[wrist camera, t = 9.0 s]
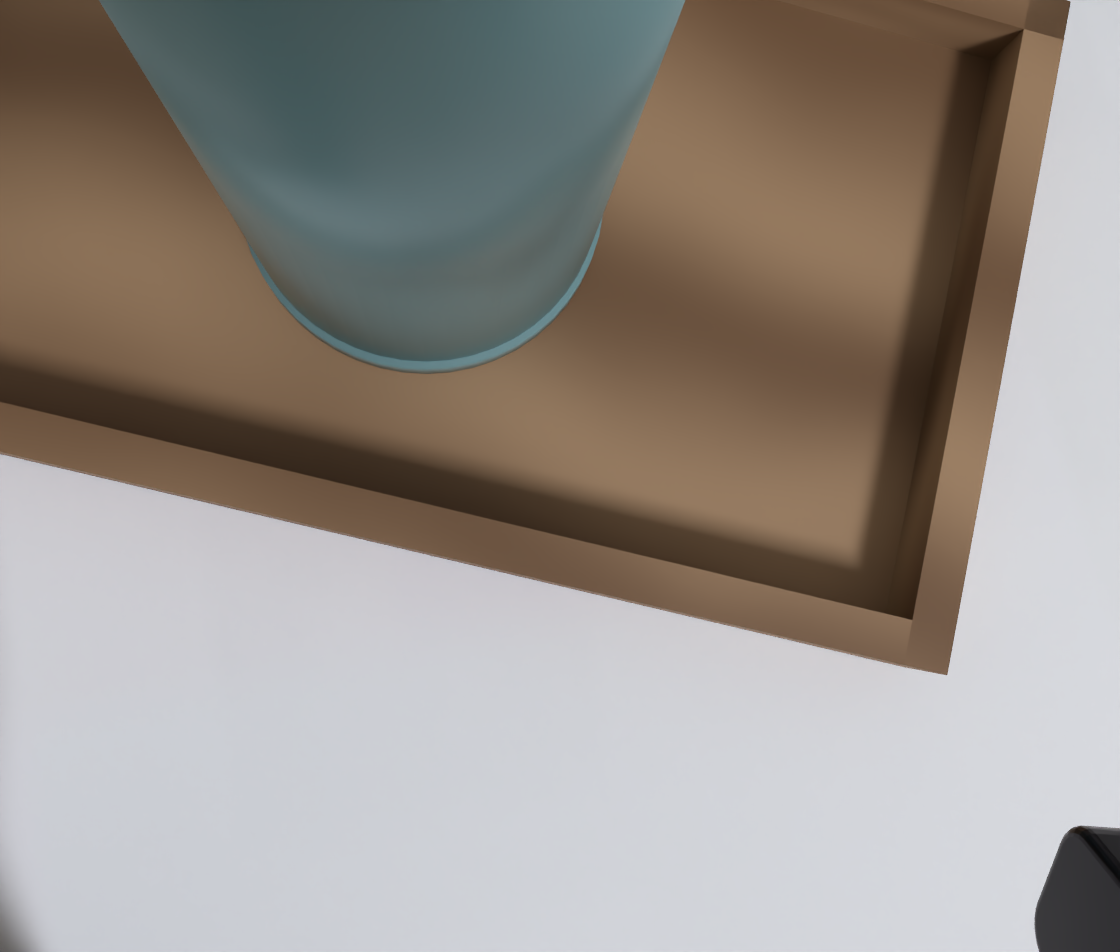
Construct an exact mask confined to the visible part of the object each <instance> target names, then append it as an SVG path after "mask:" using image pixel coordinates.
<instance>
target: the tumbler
mask: <svg viewBox="0 0 1120 952" xmlns="http://www.w3.org/2000/svg"><path fill="white" fill-rule="evenodd" d="M99 1H100V3H101V5H102V6H103V8H104V9H105V11H106V13H107V14H108V16H109V18H110V19H111V21H112V22H113V24H114V26H115V27H116V29H117V31H118V32H119V34H120V35H121V37H122V39H123V40H124V42H125V43H126V45H127V47H128V48H129V50H130V52H131V53H132V55H133V56H134V58H135V60H136V61H137V63H138V65H139V66H140V68H141V69H142V71H143V73H144V74H145V76H146V77H147V79H148V81H149V82H150V84H151V86H152V87H153V89H154V90H155V92H156V94H157V95H158V97H159V98H160V100H161V102H162V103H163V105H164V107H165V108H166V110H167V111H168V113H169V115H170V116H171V118H172V120H173V121H174V123H175V124H176V126H177V128H178V129H179V131H180V132H181V134H182V136H183V137H184V139H185V141H186V142H187V144H188V145H189V147H190V149H191V150H192V152H193V153H194V155H195V157H196V158H197V160H198V162H199V163H200V165H201V166H202V168H203V170H204V171H205V173H206V175H207V176H208V178H209V179H210V181H211V183H212V184H213V186H214V187H215V189H216V191H217V192H218V194H219V196H220V197H221V199H222V200H223V202H224V204H225V205H226V207H227V209H228V210H229V212H230V213H231V215H232V217H233V218H234V220H235V221H236V223H237V225H238V226H239V228H240V230H241V231H242V233H243V234H244V236H245V238H246V240H247V243H248V245H249V248H250V251H251V254H252V256H253V258H254V260H255V262H256V264H257V266H258V268H259V270H260V272H261V274H262V276H263V278H264V279H265V281H266V282H267V284H268V285H269V287H270V288H271V290H272V291H273V293H274V294H275V295H276V297H277V298H278V300H279V301H280V303H281V304H282V305H283V307H284V308H285V309H286V310H287V311H288V312H289V313H290V314H291V315H292V316H293V318H294V319H295V320H296V321H297V322H298V323H299V324H300V325H302V326H303V327H304V328H305V329H306V330H307V331H309V332H310V333H311V334H312V335H313V336H315V337H316V338H317V339H319V340H320V341H322V342H323V343H325V344H327V345H328V346H330V347H331V348H333V349H334V350H336V351H338V352H340V353H342V354H344V355H346V356H348V357H351V358H353V359H355V360H357V361H360V362H363V363H366V364H369V365H372V366H375V367H378V368H382V369H387V370H393V371H398V372H403V373H419V374H434V373H449V372H455V371H460V370H465V369H470V368H474V367H477V366H480V365H483V364H486V363H489V362H492V361H495V360H497V359H499V358H501V357H503V356H505V355H507V354H509V353H511V352H513V351H516V350H517V349H519V348H520V347H522V346H523V345H525V344H526V343H528V342H529V341H531V340H532V339H534V338H535V337H536V336H537V335H539V334H540V333H541V332H542V331H543V330H544V329H545V328H546V327H548V326H549V325H550V324H551V323H552V322H553V321H554V320H555V319H556V317H557V316H558V315H559V314H560V313H561V312H562V311H563V309H564V308H565V307H566V306H567V304H568V303H569V301H570V300H571V298H572V297H573V295H574V294H575V292H576V291H577V289H578V288H579V286H580V284H581V282H582V280H583V277H584V275H585V273H586V271H587V269H588V267H589V264H590V262H591V259H592V257H593V254H594V251H595V247H596V244H597V241H598V238H599V234H600V228H601V223H602V217H603V213H604V210H605V208H606V205H607V203H608V200H609V197H610V195H611V192H612V190H613V187H614V184H615V182H616V179H617V177H618V174H619V171H620V169H621V166H622V164H623V161H624V158H625V156H626V153H627V151H628V148H629V145H630V143H631V140H632V138H633V135H634V132H635V130H636V127H637V125H638V122H639V119H640V117H641V114H642V112H643V109H644V106H645V104H646V101H647V99H648V96H649V93H650V91H651V88H652V86H653V83H654V80H655V78H656V75H657V73H658V70H659V67H660V65H661V62H662V60H663V57H664V54H665V52H666V49H667V47H668V44H669V41H670V39H671V36H672V34H673V31H674V28H675V26H676V23H677V21H678V18H679V15H680V13H681V10H682V8H683V5H684V2H685V0H99Z"/></svg>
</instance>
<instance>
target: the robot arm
mask: <svg viewBox="0 0 1120 952" xmlns="http://www.w3.org/2000/svg"><path fill="white" fill-rule="evenodd" d="M1035 934H1036V940H1037V945H1038V949H1039V952H1120V828H1107V827H1094V826H1078V827H1073V828H1072V829H1070V830H1069V831H1068V832H1067V833H1066V834H1065V835H1064V837H1063V839H1062V841H1061V843H1060V846H1059V848H1058V851H1057V854H1056V856H1055V859H1054V861H1053V864H1052V867H1051V869H1050V872H1049V874H1048V877H1047V880H1046V882H1045V885H1044V887H1043V890H1042V893H1041V895H1040V898H1039V900H1038V903H1037V907H1036V912H1035Z"/></svg>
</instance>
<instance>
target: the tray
mask: <svg viewBox="0 0 1120 952" xmlns="http://www.w3.org/2000/svg"><path fill="white" fill-rule="evenodd" d="M1069 7H1070V1H1067V0H685V2H684V5H683V8H682V10H681V13H680V15H679V18H678V21H677V23H676V26H675V28H674V31H673V34H672V36H671V39H670V41H669V44H668V47H667V49H666V52H665V54H664V57H663V60H662V62H661V65H660V67H659V70H658V73H657V75H656V78H655V80H654V83H653V86H652V88H651V91H650V93H649V96H648V99H647V101H646V104H645V106H644V109H643V112H642V114H641V117H640V119H639V122H638V125H637V127H636V130H635V132H634V135H633V138H632V140H631V143H630V145H629V148H628V151H627V153H626V156H625V158H624V161H623V164H622V166H621V169H620V171H619V174H618V177H617V179H616V182H615V184H614V187H613V190H612V192H611V195H610V197H609V200H608V203H607V205H606V208H605V210H604V213H603V217H602V223H601V228H600V234H599V238H598V241H597V244H596V247H595V251H594V254H593V257H592V259H591V262H590V264H589V267H588V269H587V271H586V273H585V275H584V277H583V280H582V282H581V284H580V286H579V288H578V289H577V291H576V292H575V294H574V295H573V297H572V298H571V300H570V301H569V303H568V304H567V306H566V307H565V308H564V309H563V311H562V312H561V313H560V314H559V315H558V316H557V317H556V319H555V320H554V321H553V322H552V323H551V324H550V325H549V326H548V327H546V328H545V329H544V330H543V331H542V332H541V333H540V334H539V335H537V336H536V337H535V338H534V339H532V340H531V341H529V342H528V343H526V344H525V345H523V346H522V347H520V348H519V349H517V350H516V351H513V352H511V353H509V354H507V355H505V356H503V357H501V358H499V359H497V360H495V361H492V362H489V363H486V364H483V365H480V366H477V367H474V368H470V369H465V370H460V371H455V372H449V373H434V374H419V373H403V372H398V371H393V370H387V369H382V368H378V367H375V366H372V365H369V364H366V363H363V362H360V361H357V360H355V359H353V358H351V357H348V356H346V355H344V354H342V353H340V352H338V351H336V350H334V349H333V348H331V347H330V346H328V345H327V344H325V343H323V342H322V341H320V340H319V339H317V338H316V337H315V336H313V335H312V334H311V333H310V332H309V331H307V330H306V329H305V328H304V327H303V326H302V325H300V324H299V323H298V322H297V321H296V320H295V319H294V318H293V316H292V315H291V314H290V313H289V312H288V311H287V310H286V309H285V308H284V307H283V305H282V304H281V303H280V301H279V300H278V298H277V297H276V295H275V294H274V293H273V291H272V290H271V288H270V287H269V285H268V284H267V282H266V281H265V279H264V278H263V276H262V274H261V272H260V270H259V268H258V266H257V264H256V262H255V260H254V258H253V256H252V254H251V251H250V248H249V245H248V243H247V240H246V238H245V236H244V234H243V233H242V231H241V230H240V228H239V226H238V225H237V223H236V221H235V220H234V218H233V217H232V215H231V213H230V212H229V210H228V209H227V207H226V205H225V204H224V202H223V200H222V199H221V197H220V196H219V194H218V192H217V191H216V189H215V187H214V186H213V184H212V183H211V181H210V179H209V178H208V176H207V175H206V173H205V171H204V170H203V168H202V166H201V165H200V163H199V162H198V160H197V158H196V157H195V155H194V153H193V152H192V150H191V149H190V147H189V145H188V144H187V142H186V141H185V139H184V137H183V136H182V134H181V132H180V131H179V129H178V128H177V126H176V124H175V123H174V121H173V120H172V118H171V116H170V115H169V113H168V111H167V110H166V108H165V107H164V105H163V103H162V102H161V100H160V98H159V97H158V95H157V94H156V92H155V90H154V89H153V87H152V86H151V84H150V82H149V81H148V79H147V77H146V76H145V74H144V73H143V71H142V69H141V68H140V66H139V65H138V63H137V61H136V60H135V58H134V56H133V55H132V53H131V52H130V50H129V48H128V47H127V45H126V43H125V42H124V40H123V39H122V37H121V35H120V34H119V32H118V31H117V29H116V27H115V26H114V24H113V22H112V21H111V19H110V18H109V16H108V14H107V13H106V11H105V9H104V8H103V6H102V5H101V3H100V1H99V0H0V454H3V455H7V456H12V457H16V458H20V459H24V460H29V461H33V462H37V463H41V464H46V465H50V466H54V467H58V468H62V469H67V470H71V471H75V472H79V473H84V474H88V475H92V476H96V477H101V478H105V479H109V480H113V481H118V482H122V483H126V484H130V485H135V486H139V487H143V488H147V489H152V490H156V491H160V492H164V493H168V494H173V495H177V496H181V497H185V498H190V499H194V500H198V501H202V502H207V503H211V504H215V505H219V506H224V507H228V508H232V509H236V510H241V511H245V512H249V513H253V514H258V515H262V516H266V517H270V518H274V519H279V520H283V521H287V522H291V523H296V524H300V525H304V526H308V527H313V528H317V529H321V530H325V531H330V532H334V533H338V534H342V535H347V536H351V537H355V538H359V539H364V540H368V541H372V542H376V543H380V544H385V545H389V546H393V547H397V548H402V549H406V550H410V551H414V552H419V553H423V554H427V555H431V556H436V557H440V558H444V559H448V560H453V561H457V562H461V563H465V564H470V565H474V566H478V567H482V568H486V569H491V570H495V571H499V572H503V573H508V574H512V575H516V576H520V577H525V578H529V579H533V580H537V581H542V582H546V583H550V584H554V585H559V586H563V587H567V588H571V589H576V590H580V591H584V592H588V593H592V594H597V595H601V596H605V597H609V598H614V599H618V600H622V601H626V602H631V603H635V604H639V605H643V606H648V607H652V608H656V609H660V610H665V611H669V612H673V613H677V614H682V615H686V616H690V617H694V618H698V619H703V620H707V621H711V622H715V623H720V624H724V625H728V626H732V627H737V628H741V629H745V630H749V631H754V632H758V633H762V634H766V635H771V636H775V637H779V638H783V639H788V640H792V641H796V642H800V643H805V644H809V645H813V646H817V647H821V648H826V649H830V650H834V651H838V652H843V653H847V654H851V655H855V656H860V657H864V658H868V659H872V660H877V661H881V662H885V663H889V664H894V665H898V666H902V667H907V668H912V669H917V670H923V671H928V672H933V673H938V674H944V675H947V673H948V668H949V662H950V657H951V651H952V646H953V640H954V635H955V629H956V624H957V618H958V613H959V608H960V602H961V597H962V591H963V586H964V580H965V575H966V569H967V564H968V558H969V553H970V548H971V542H972V537H973V531H974V526H975V520H976V515H977V509H978V504H979V498H980V493H981V488H982V482H983V477H984V471H985V466H986V460H987V455H988V449H989V444H990V438H991V433H992V428H993V422H994V417H995V411H996V406H997V400H998V395H999V389H1000V384H1001V378H1002V373H1003V368H1004V362H1005V357H1006V351H1007V346H1008V340H1009V335H1010V329H1011V324H1012V318H1013V313H1014V308H1015V302H1016V297H1017V291H1018V286H1019V280H1020V275H1021V269H1022V264H1023V258H1024V253H1025V247H1026V242H1027V237H1028V231H1029V226H1030V220H1031V215H1032V209H1033V204H1034V198H1035V193H1036V187H1037V182H1038V177H1039V171H1040V166H1041V160H1042V155H1043V149H1044V144H1045V138H1046V133H1047V127H1048V122H1049V117H1050V111H1051V106H1052V100H1053V95H1054V89H1055V84H1056V78H1057V73H1058V67H1059V62H1060V57H1061V51H1062V46H1063V40H1064V35H1065V29H1066V24H1067V18H1068V13H1069Z"/></svg>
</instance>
